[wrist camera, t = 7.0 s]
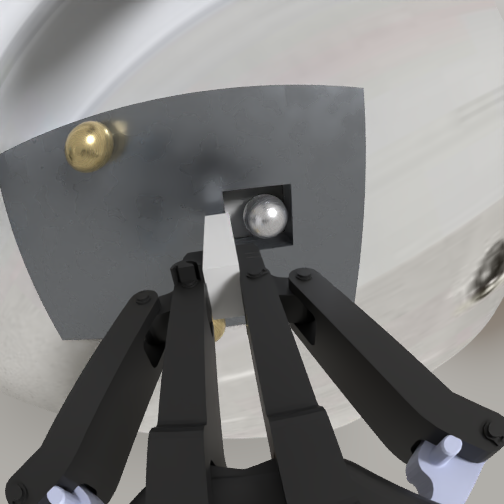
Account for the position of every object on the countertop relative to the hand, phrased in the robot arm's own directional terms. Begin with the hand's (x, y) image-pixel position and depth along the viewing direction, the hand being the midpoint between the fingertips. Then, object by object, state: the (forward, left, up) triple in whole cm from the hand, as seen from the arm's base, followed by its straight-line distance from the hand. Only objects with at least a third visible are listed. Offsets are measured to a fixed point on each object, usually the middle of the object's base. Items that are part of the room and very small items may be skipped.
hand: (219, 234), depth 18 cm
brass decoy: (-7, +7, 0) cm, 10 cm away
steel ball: (+3, 0, -2) cm, 4 cm away
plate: (-3, 0, -4) cm, 5 cm away
